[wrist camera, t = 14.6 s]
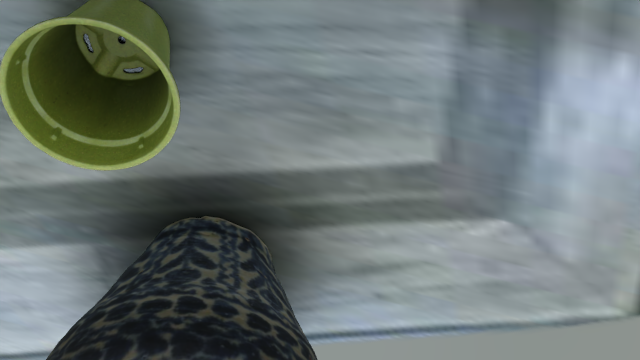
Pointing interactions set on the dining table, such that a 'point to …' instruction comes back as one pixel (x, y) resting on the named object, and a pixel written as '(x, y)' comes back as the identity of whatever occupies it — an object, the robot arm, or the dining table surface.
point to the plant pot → (94, 85)
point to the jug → (192, 303)
